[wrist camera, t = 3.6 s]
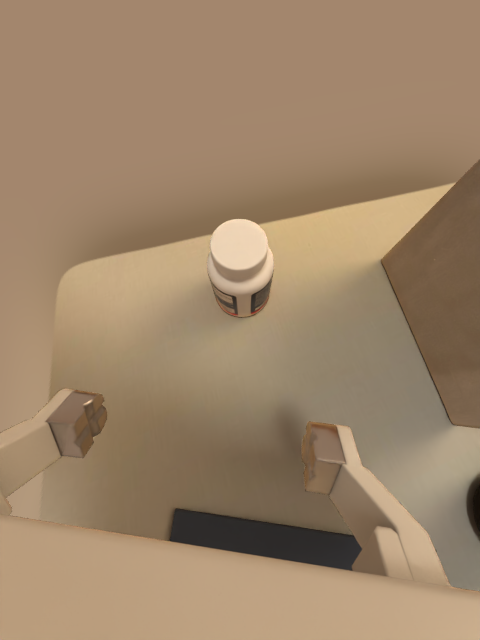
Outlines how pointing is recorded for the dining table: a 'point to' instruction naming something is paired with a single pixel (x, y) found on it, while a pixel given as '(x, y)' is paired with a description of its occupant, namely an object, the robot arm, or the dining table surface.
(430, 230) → the planter
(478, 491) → the beverage can
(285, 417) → the dining table surface
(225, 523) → the flat dark rectangular board
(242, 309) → the pill bottle
